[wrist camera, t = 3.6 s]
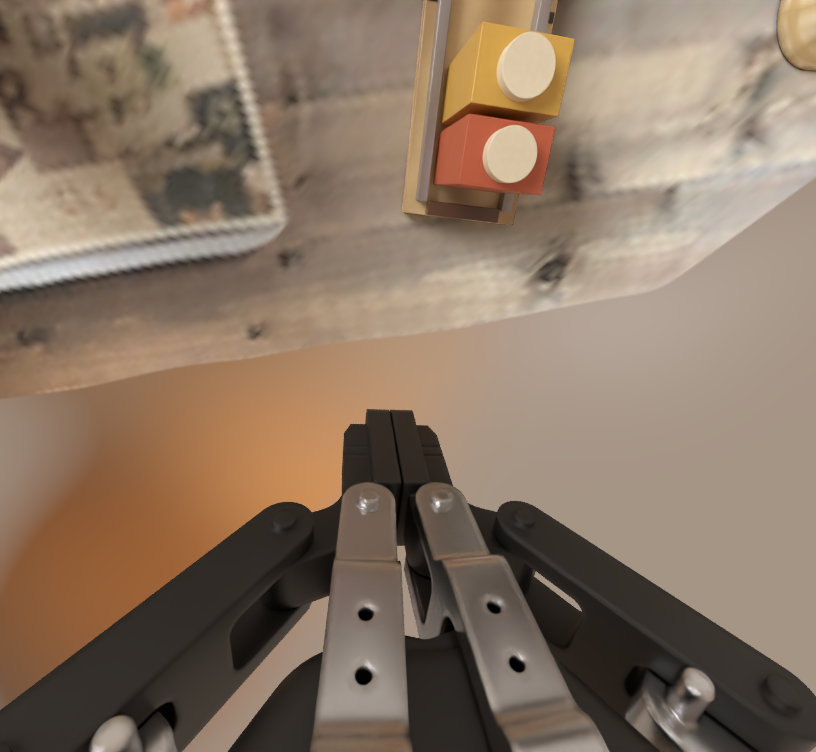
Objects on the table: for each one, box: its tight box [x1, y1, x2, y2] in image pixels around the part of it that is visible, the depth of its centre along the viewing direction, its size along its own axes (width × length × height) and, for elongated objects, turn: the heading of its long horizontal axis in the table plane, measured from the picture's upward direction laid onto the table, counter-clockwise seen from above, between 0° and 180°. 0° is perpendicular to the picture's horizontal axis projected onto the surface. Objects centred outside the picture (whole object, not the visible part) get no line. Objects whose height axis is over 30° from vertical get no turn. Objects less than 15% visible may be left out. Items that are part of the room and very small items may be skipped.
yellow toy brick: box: [441, 22, 575, 126], centre depth 26 cm, size 5×4×10 cm
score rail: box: [402, 0, 558, 225], centre depth 30 cm, size 9×20×3 cm, turn 173°
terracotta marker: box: [433, 114, 555, 195], centre depth 27 cm, size 5×4×10 cm
